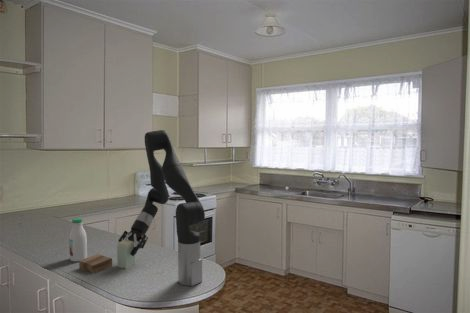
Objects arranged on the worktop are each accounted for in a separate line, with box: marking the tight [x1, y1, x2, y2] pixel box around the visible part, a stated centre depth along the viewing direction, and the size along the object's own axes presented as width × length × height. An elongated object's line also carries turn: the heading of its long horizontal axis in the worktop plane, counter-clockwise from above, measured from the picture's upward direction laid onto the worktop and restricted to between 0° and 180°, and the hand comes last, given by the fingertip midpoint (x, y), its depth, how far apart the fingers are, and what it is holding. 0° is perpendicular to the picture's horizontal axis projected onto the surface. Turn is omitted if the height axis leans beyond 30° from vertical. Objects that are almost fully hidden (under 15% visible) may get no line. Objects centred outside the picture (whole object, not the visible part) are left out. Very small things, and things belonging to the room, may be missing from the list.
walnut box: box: [78, 253, 113, 274], centre depth 162 cm, size 10×10×4 cm
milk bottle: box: [68, 217, 88, 262], centre depth 171 cm, size 8×8×20 cm
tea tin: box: [116, 239, 136, 270], centre depth 163 cm, size 5×5×11 cm
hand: (125, 253), depth 163 cm, fingers open, 8 cm apart
